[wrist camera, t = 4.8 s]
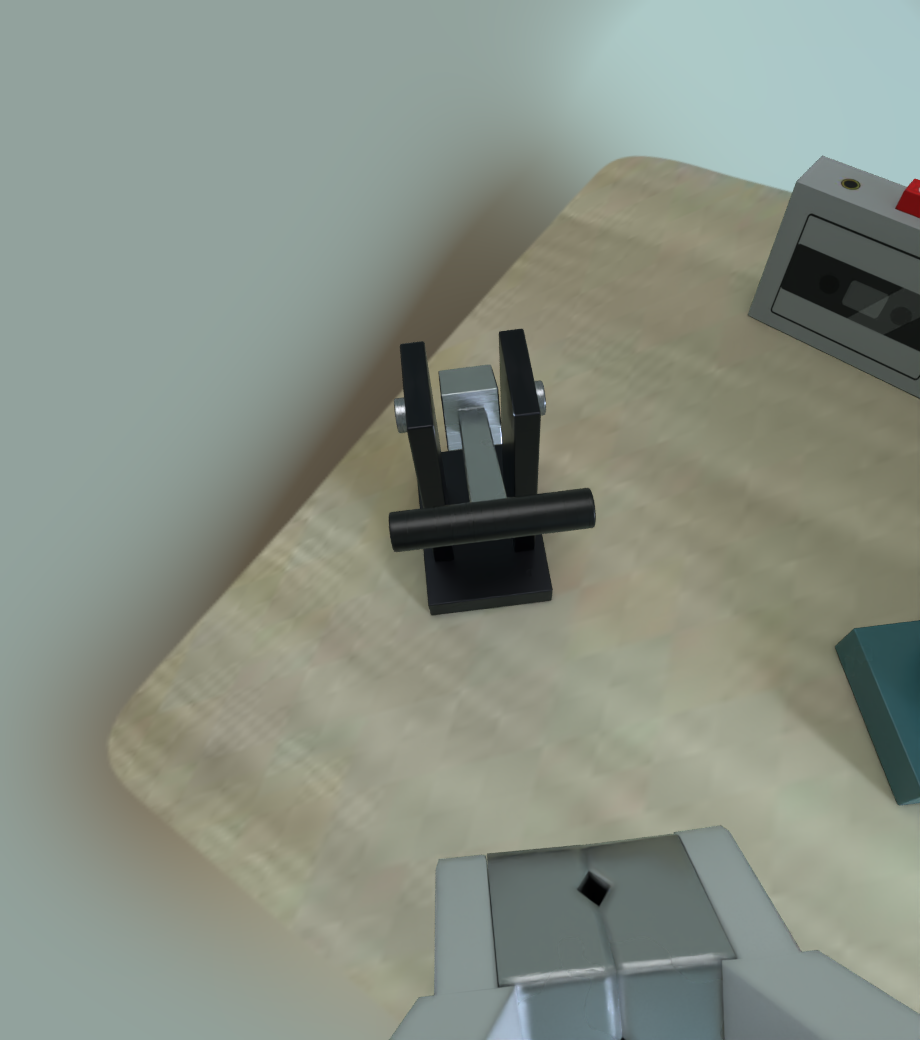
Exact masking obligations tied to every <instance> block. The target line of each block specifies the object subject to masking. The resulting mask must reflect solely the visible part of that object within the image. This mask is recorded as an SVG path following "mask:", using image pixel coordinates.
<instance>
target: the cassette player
mask: <svg viewBox="0 0 920 1040" xmlns="http://www.w3.org/2000/svg"><path fill="white" fill-rule="evenodd" d="M748 315H749V316H751V317H753V318H755V319H757V320H759V321H761V322H763V323H765V324H767V325H769V326H771V327H774V328H776V329H778V330H780V331H782V332H784V333H786V334H788V335H790V336H792V337H794V338H796V339H798V340H800V341H803V342H805V343H807V344H809V345H811V346H813V347H815V348H817V349H819V350H821V351H823V352H825V353H827V354H829V355H832V356H834V357H836V358H838V359H840V360H842V361H844V362H846V363H848V364H850V365H852V366H854V367H856V368H858V369H861V370H863V371H865V372H867V373H869V374H871V375H873V376H875V377H877V378H879V379H881V380H883V381H885V382H887V383H890V384H892V385H894V386H896V387H898V388H900V389H902V390H904V391H906V392H908V393H910V394H912V395H914V396H916V397H919V398H920V180H918V179H914V180H913V181H912V182H911V183H910V184H909V186H908V187H905V186H903V185H900V184H897V183H895V182H892V181H889V180H887V179H884V178H881V177H879V176H876V175H873V174H871V173H868V172H865V171H862V170H860V169H857V168H854V167H852V166H849V165H846V164H843V163H841V162H838V161H835V160H833V159H830V158H827V157H825V156H821V158H819V160H817V161H816V163H814V164H813V165H812V167H810V168H809V169H808V171H807V172H805V173H804V174H803V176H802V177H800V179H798V180H797V182H796V184H795V187H794V190H793V192H792V195H791V198H790V201H789V203H788V206H787V209H786V211H785V214H784V217H783V220H782V222H781V225H780V228H779V231H778V233H777V236H776V239H775V242H774V244H773V247H772V250H771V253H770V255H769V258H768V261H767V264H766V266H765V269H764V272H763V275H762V277H761V280H760V283H759V285H758V288H757V291H756V294H755V296H754V299H753V302H752V305H751V307H750V310H749V313H748Z"/></svg>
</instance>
